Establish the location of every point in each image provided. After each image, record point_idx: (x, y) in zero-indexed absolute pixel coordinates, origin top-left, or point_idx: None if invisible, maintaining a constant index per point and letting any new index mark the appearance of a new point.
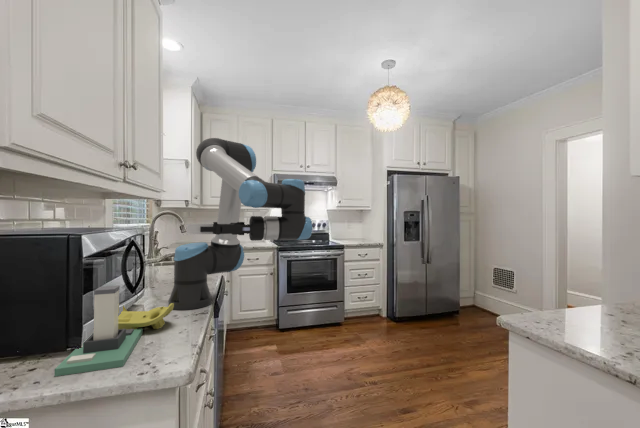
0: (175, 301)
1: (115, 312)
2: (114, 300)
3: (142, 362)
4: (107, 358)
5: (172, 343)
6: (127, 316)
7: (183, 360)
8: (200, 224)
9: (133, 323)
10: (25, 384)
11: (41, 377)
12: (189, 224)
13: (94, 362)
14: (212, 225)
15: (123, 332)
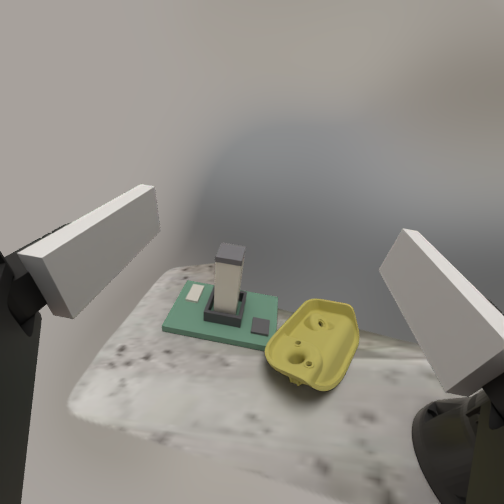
0: (436, 414)
1: (221, 286)
2: (215, 270)
3: (157, 350)
4: (179, 312)
5: (200, 395)
6: (330, 326)
7: (110, 407)
8: (96, 211)
9: (277, 330)
10: (187, 273)
11: (193, 279)
12: (133, 190)
13: (178, 303)
14: (29, 260)
15: (228, 317)
